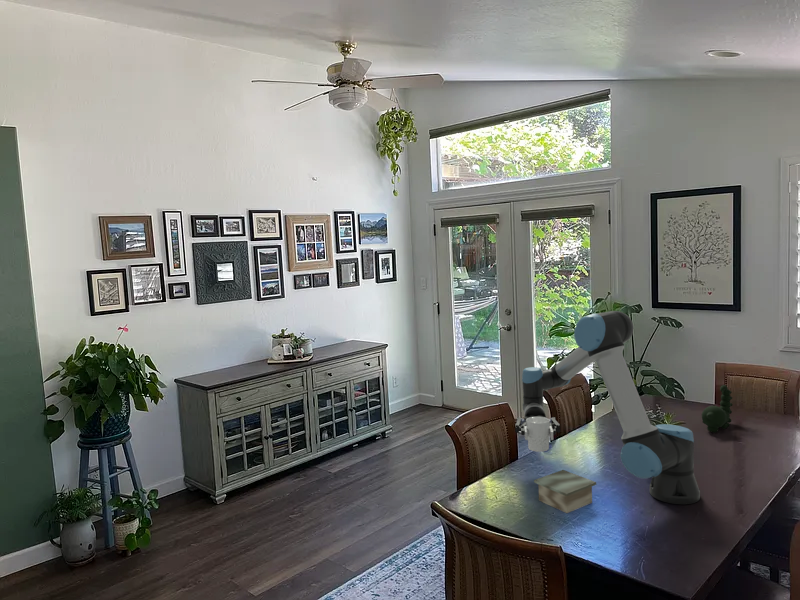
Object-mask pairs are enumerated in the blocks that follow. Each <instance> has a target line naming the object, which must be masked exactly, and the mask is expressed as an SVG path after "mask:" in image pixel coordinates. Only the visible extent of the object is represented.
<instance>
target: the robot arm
mask: <svg viewBox="0 0 800 600" xmlns="http://www.w3.org/2000/svg"><path fill="white" fill-rule="evenodd" d="M574 327H575V328H574V332H573V333H574V334H573V335H574V336H573V337H574V341H575V343H576V345H577V346H578V347H577V348H575V349H574V350H573V351H572V352H570V353H569V354H568V355H567V356H565V357H564V358H563V359H561V360H560V361H559V362H557V363H556V364H555V365H554V366H553V367H551V368H549V369H545V370H543V369H542V368H541V367H537V366H533V367H532V366H530V367H525V368H524V369H523V370H522V375H521V377H522V378H521V382H522V394H523V395H522V401H523V403H522V409H523V414H524V418H522V417H516V423H515V425H514V426H515V433H516V434H517V433H520V435H521V436H524V439H525V440H526V441H528V436H527V427H526V419H527V418H529V417H545V418H548V417H547V415H546V413H545V412H546V411H545V410H544V409H545V408H544V392H545V391H547V390H551V389H556V388H560V387H563V386H567V385H568V384H570V383H571V380H572V378H574V377H575V376H576V375H578V374H579V373H580V372H582V371H583V370H584V369H586V368H587V367H589V366H590V365H592V364H593V363H594V362H596V364H597V367H598V369H599V370H598V371H599V372H600V374H601V377H602V380H603V382H604V384H605V387H606V390H607V392H608V395H609V397H610V400H611V404H612V406H613V408H614V410H615V412H616V413H615V414H616V415H617V418H618V420H619V423H620V426H621V428H622V430H623V433H622V436H621V438H620V439H621V442H622V444H623V446H622V447H621V449H620V450H621V452H620V460H621V463H622V465H623V466H624V468H625V469H626V470H627V472H628V473H630V474H631V475H634V476H635V477H636V478H638V479H644V480H645V479H650V478H651V480H650V483H649V493H650V495H651V497H653V498H654V499H656V500H658V501H661V502H663V503H668V504H673V505H691V504H695V503H697V502H699V501H700V499H701V490H700V488H699V485H698V482H697V478H696V477H695V472H694V471H695V470H694V469H695V465H694V464H695V463H694V462H695V461H694V459H695V451H694V450H695V449H694V448H695V447H694V444H695V440H694V433H693V431H692V430H691V429H689V428H687V427H685V426H681V425H675V424H669V423H667V424H665V423H663V424H656V425H653V424H652V423H651V421H650V419H649V417H648V414H647V411H646V409H645V407H644V405H643V402H642V399H641V397H640V395H639V392H638V390H637V387H636V384H635V382H634V379H633V377H632V375H631V372H630V370H629V366H628V365H627V362H626V360H625V357H624V354H623V351H624V349H625V343H626V342H628V341H629V340H631V338H632V337H633V334H634V328H635V327H634V324H633V321H632V319H631V317H630V316H629V315H628V314H627V313H624V312H623V311H619V310H609V311H605V312H604V311H603V312H598V313H591V314H588V315H585V316H583V317H581V318H580V319H579V320H578V321H577V323H576V325H575V326H574ZM548 419H549V420H550V436H549V439H550V440H551V441H553V440H554V436H555V435H556V434H557V433H558V434H559V433H561V425H560V423H559V422H558V421H557V420H556V417H554V416H553V417H551V418H548Z"/></svg>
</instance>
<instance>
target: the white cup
mask: <svg viewBox="0 0 800 600" xmlns="http://www.w3.org/2000/svg"><path fill="white" fill-rule="evenodd" d="M549 419H550V418H548V417H547V418H545V417H529V418H527V419H526V427H527V436H528V440H527V444H528V445H527V447H528V450H530V451H532V452H536V453H541V452H546V451H548V450H549V449H550V420H549Z"/></svg>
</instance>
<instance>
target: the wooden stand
mask: <svg viewBox="0 0 800 600" xmlns="http://www.w3.org/2000/svg"><path fill="white" fill-rule="evenodd" d="M533 483H534V484H537V485H538V486H537V487H538V501H539V502H541V503H543V504H546V505H548V506H550V507H552V508H555V509H557V510H558V511H561V512H563V513H565V514H569V513H572V512H573V511H576V510H578V509H581V508H583V507H586V506H588V505H590V504H592V503H593V486H596V485H597V481H594V480H591V479H589V478H586V477H584V476H581V475H579V474H576V473H574V472H570V471H567V470H565V469H560V470H559V471H555V472H553V473H550V474H547V475H544V476H540V477H539V478H536V479H533Z"/></svg>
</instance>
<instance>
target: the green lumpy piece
mask: <svg viewBox="0 0 800 600" xmlns="http://www.w3.org/2000/svg"><path fill="white" fill-rule="evenodd" d="M719 390H720V393H721V395H720V402H719V406H717V405H708V406H707V407H705V408H704V409H703V410H702V412H701V419H702V424H704V425H706V429H707V431H708V432H710V433H718V431H719V428H721V429H724V430H725V429H727V428H729V427H730V425H731V424H730V423H732V419H731V417H730V416H731V414H732V409H731V407H732V406H733V403H732V402H731V400H733V397H732V396H731V394H732V393H733V392H732V390H730V389H729V387H728V386H727V385H725V384H723V385H721V386H720V389H719Z"/></svg>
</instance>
